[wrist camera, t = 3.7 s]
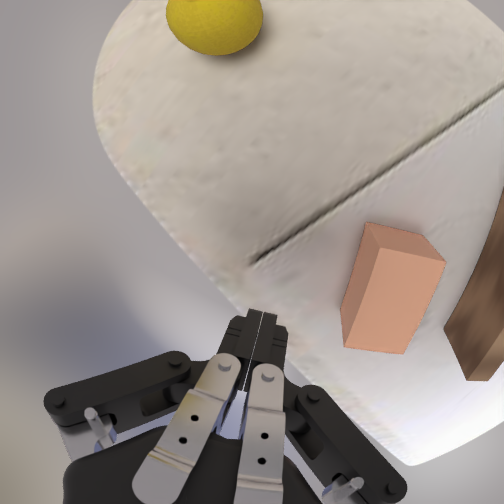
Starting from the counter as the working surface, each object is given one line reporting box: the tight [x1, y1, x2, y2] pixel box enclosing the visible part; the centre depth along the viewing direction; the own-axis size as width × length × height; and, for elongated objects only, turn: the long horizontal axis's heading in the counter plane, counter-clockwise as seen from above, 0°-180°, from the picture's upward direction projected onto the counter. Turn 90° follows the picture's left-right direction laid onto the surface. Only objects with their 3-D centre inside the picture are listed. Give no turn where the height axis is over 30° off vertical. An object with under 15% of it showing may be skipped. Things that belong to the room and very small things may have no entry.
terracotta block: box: [340, 222, 446, 354], centre depth 19 cm, size 8×5×5 cm, turn 174°
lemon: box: [166, 0, 263, 56], centre depth 13 cm, size 6×6×8 cm
